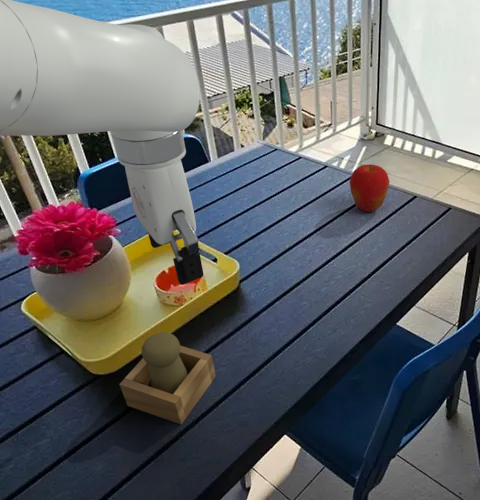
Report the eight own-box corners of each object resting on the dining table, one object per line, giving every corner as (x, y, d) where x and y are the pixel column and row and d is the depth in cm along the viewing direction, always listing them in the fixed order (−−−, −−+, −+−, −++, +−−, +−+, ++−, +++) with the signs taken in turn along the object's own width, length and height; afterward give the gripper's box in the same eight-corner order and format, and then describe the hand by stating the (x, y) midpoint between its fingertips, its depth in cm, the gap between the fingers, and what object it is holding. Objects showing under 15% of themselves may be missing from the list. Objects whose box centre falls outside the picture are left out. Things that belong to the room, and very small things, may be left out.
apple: (388, 201, 124) (392, 157, 117) (385, 220, 117) (389, 174, 110) (351, 197, 125) (353, 153, 118) (346, 216, 118) (347, 170, 111)
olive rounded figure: (189, 370, 80) (176, 321, 74) (197, 398, 76) (184, 349, 69) (149, 382, 78) (133, 333, 71) (155, 412, 74) (138, 362, 67)
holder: (181, 424, 72) (175, 403, 69) (127, 405, 74) (119, 384, 72) (216, 376, 79) (211, 354, 76) (165, 360, 82) (159, 339, 79)
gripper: (94, 126, 61) (128, 240, 71) (143, 181, 50) (174, 307, 60) (155, 113, 65) (178, 223, 75) (212, 162, 54) (231, 284, 64)
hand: (176, 261), depth 67 cm, fingers open, 9 cm apart
